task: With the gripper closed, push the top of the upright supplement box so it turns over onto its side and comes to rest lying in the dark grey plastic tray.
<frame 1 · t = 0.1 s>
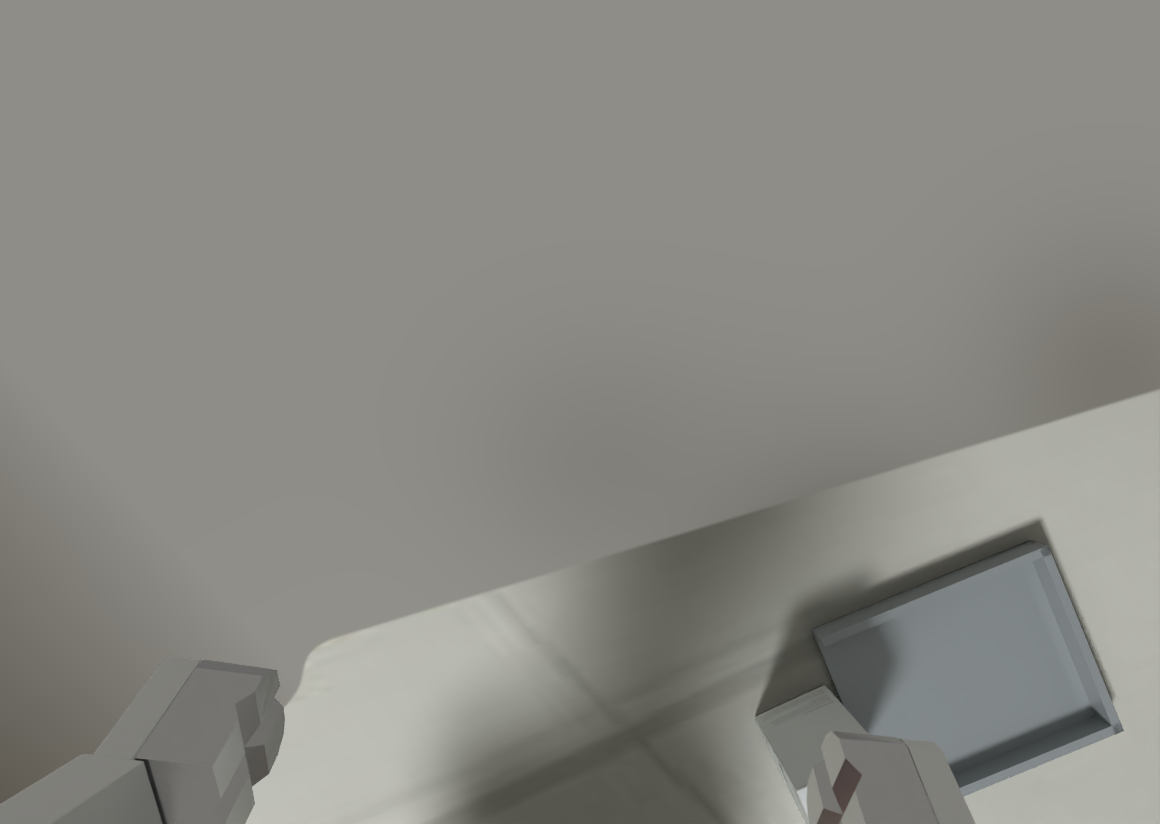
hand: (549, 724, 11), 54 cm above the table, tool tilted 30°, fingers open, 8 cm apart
supplement box: (804, 734, 65), on the table
tray: (957, 674, 65), on the table
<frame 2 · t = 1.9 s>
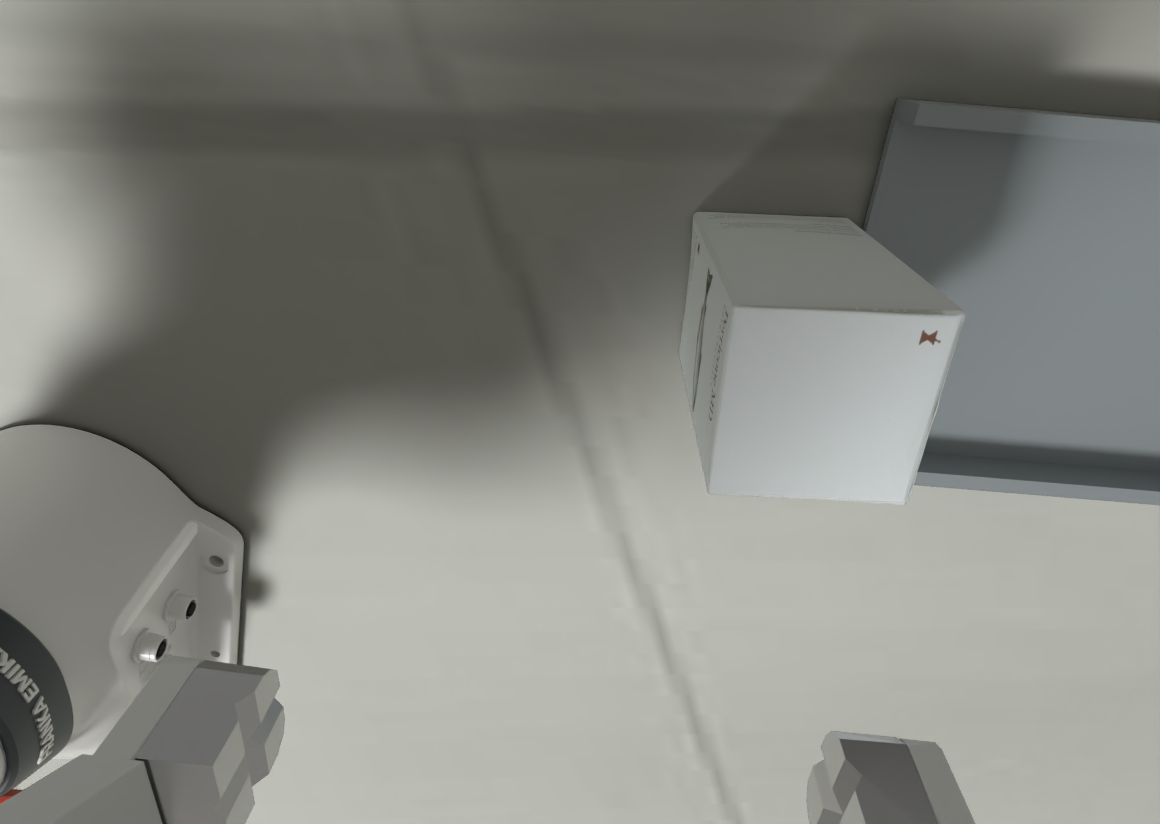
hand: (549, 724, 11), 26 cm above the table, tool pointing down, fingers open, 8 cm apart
supplement box: (757, 287, 34), on the table
tray: (1067, 314, 34), on the table
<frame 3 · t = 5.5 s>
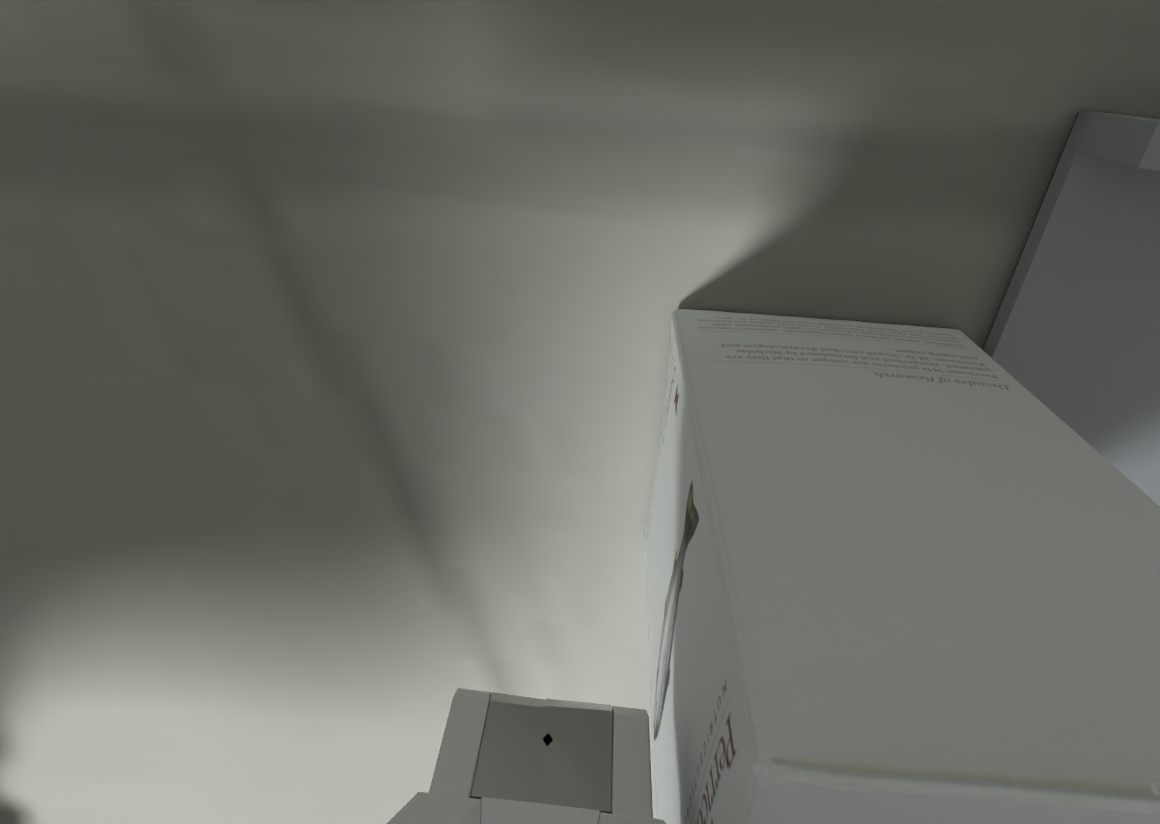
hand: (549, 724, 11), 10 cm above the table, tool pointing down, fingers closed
supplement box: (784, 436, 19), on the table, touching gripper
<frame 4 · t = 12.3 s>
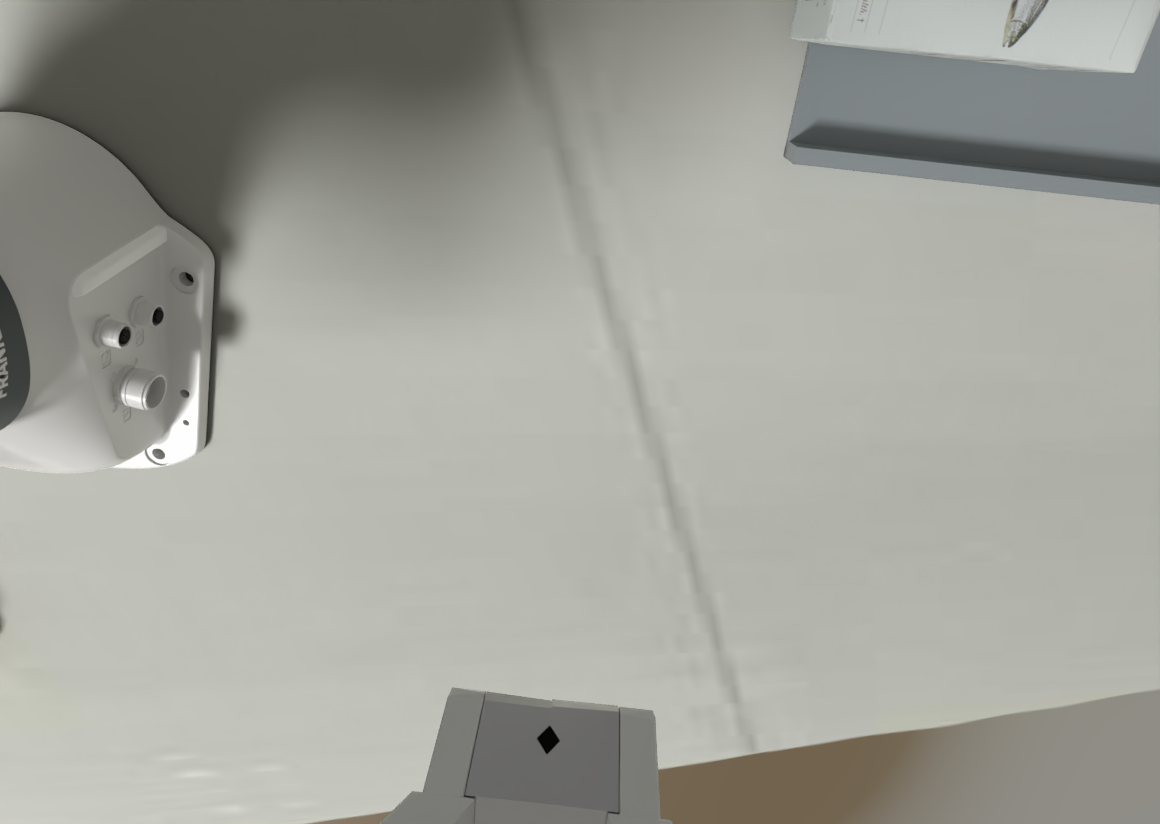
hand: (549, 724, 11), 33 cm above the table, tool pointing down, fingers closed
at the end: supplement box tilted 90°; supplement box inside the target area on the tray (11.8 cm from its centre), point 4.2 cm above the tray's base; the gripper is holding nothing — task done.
